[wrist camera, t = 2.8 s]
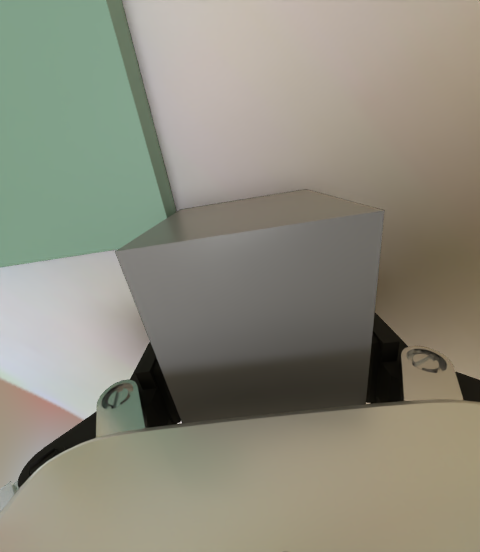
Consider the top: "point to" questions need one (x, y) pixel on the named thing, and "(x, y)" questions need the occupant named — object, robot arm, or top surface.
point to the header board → (74, 133)
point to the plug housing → (260, 303)
